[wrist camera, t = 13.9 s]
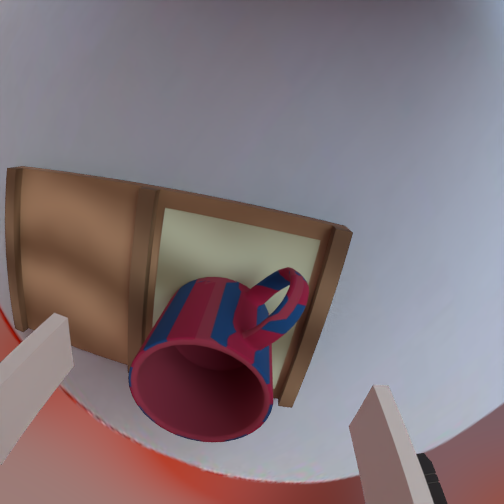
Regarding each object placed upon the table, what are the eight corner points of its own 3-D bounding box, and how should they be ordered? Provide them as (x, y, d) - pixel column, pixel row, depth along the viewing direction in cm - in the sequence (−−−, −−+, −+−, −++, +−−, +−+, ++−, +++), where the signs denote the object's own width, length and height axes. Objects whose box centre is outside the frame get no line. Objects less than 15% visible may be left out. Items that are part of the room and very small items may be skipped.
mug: (146, 316, 19) (103, 380, 13) (265, 216, 17) (266, 252, 11) (215, 381, 21) (200, 456, 14) (335, 301, 19) (365, 368, 12)
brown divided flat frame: (22, 166, 18) (-4, 169, 15) (344, 225, 18) (359, 238, 16) (29, 334, 22) (10, 350, 19) (284, 405, 23) (286, 432, 20)
